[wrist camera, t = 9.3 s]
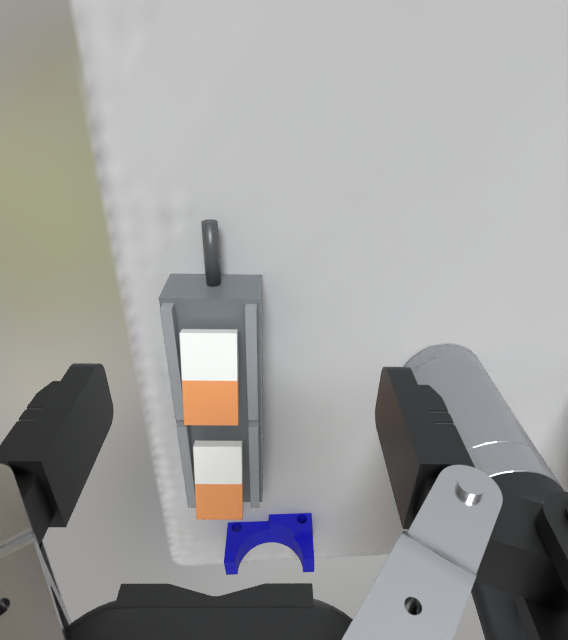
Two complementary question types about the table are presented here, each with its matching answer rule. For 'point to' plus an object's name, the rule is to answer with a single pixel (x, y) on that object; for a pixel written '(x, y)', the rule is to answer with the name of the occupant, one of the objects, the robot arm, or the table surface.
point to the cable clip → (270, 538)
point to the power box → (245, 315)
